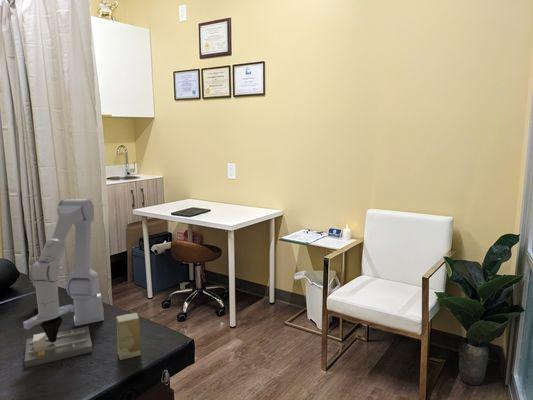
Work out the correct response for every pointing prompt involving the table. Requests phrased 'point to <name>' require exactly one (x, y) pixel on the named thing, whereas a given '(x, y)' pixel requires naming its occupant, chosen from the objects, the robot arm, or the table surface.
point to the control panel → (59, 347)
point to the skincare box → (128, 335)
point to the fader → (39, 341)
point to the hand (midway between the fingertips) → (52, 341)
